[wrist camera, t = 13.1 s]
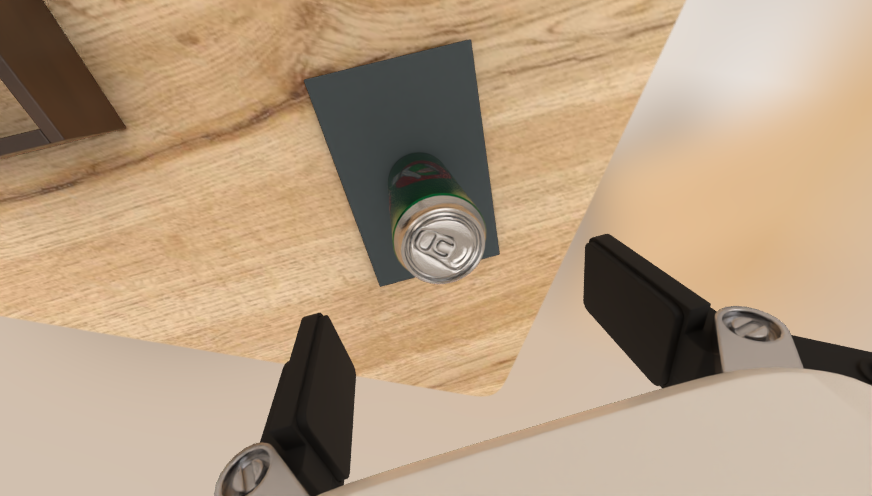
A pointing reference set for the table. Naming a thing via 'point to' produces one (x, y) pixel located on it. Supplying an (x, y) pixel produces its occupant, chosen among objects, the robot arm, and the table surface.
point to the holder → (48, 81)
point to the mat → (404, 136)
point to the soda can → (433, 221)
